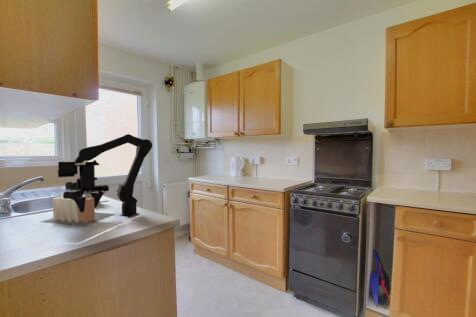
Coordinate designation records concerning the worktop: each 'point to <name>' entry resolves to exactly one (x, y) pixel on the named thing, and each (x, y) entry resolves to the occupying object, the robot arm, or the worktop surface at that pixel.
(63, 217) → the cream flat block
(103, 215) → the mat
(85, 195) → the can
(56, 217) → the domino
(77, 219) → the domino
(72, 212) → the domino
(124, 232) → the worktop surface
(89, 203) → the terracotta domino
